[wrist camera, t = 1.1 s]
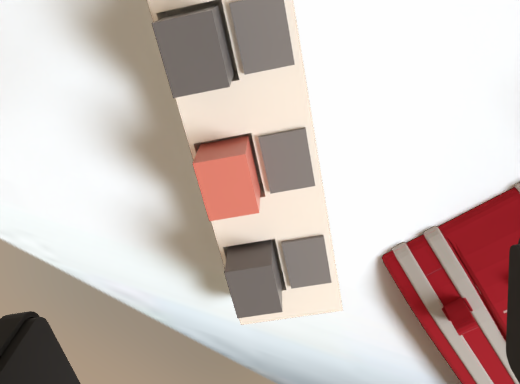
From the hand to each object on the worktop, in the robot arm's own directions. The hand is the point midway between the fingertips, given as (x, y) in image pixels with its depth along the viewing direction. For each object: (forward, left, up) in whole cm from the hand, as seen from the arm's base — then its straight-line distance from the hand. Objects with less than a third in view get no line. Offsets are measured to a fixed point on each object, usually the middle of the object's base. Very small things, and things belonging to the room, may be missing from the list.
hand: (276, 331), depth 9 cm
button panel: (+2, -2, -24) cm, 24 cm away
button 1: (-3, -4, -21) cm, 22 cm away
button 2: (+5, -4, -21) cm, 22 cm away
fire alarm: (+22, +17, -25) cm, 37 cm away
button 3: (+13, -4, -21) cm, 25 cm away
